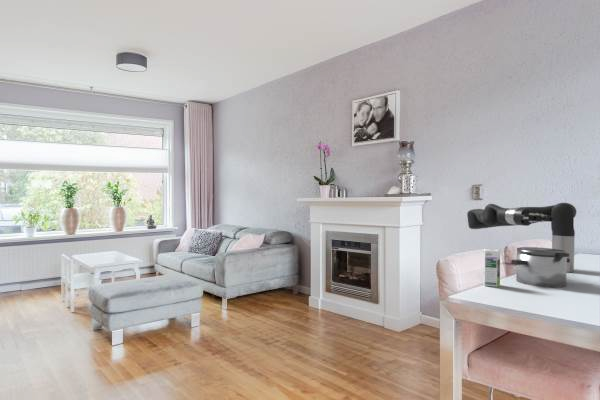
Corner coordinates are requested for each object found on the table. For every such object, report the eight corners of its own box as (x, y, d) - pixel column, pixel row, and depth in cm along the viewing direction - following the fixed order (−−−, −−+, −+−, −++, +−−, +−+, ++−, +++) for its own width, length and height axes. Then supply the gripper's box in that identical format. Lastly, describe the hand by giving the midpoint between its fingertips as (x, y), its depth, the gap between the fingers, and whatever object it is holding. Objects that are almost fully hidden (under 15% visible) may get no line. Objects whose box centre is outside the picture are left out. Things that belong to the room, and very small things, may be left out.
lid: (507, 250, 175) (507, 247, 175) (539, 249, 181) (539, 246, 181) (547, 257, 156) (547, 254, 156) (582, 256, 161) (582, 253, 161)
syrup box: (483, 286, 161) (484, 249, 161) (483, 283, 167) (483, 248, 167) (499, 287, 159) (500, 250, 159) (498, 284, 165) (499, 249, 164)
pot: (497, 279, 174) (497, 251, 174) (547, 276, 182) (548, 250, 182) (532, 289, 157) (532, 258, 157) (586, 285, 165) (586, 256, 165)
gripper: (530, 224, 182) (565, 228, 166) (506, 225, 179) (540, 228, 162) (530, 208, 182) (566, 209, 166) (507, 208, 178) (541, 209, 162)
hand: (553, 219), depth 164 cm, fingers closed
